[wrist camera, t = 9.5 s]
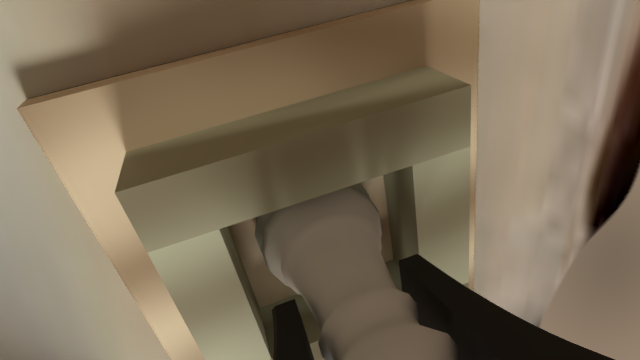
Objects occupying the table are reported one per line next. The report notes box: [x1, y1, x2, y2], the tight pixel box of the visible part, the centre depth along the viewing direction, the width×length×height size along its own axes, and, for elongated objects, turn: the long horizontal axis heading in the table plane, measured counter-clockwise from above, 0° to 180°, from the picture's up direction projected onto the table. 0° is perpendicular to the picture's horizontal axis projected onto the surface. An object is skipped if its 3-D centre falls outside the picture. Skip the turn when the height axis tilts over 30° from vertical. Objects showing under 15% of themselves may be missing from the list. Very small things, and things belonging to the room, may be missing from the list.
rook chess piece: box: [255, 183, 458, 360], centre depth 12 cm, size 4×4×8 cm
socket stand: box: [17, 0, 480, 360], centre depth 15 cm, size 14×14×3 cm
